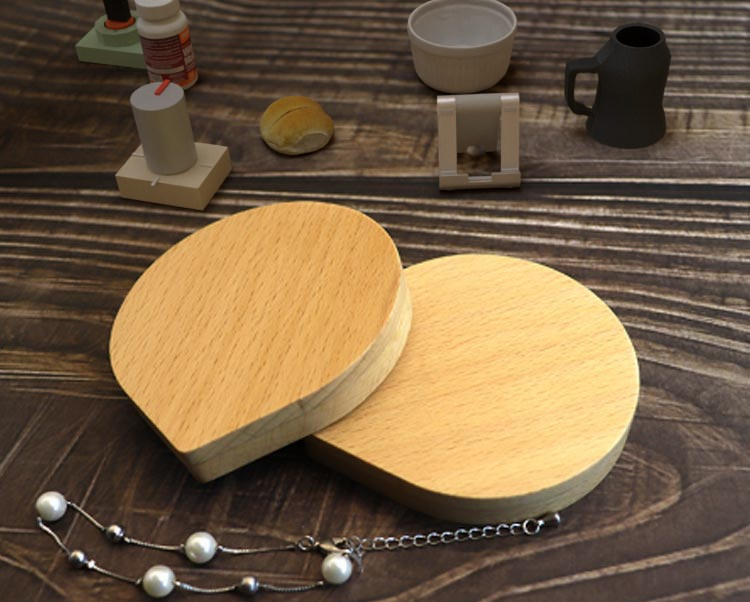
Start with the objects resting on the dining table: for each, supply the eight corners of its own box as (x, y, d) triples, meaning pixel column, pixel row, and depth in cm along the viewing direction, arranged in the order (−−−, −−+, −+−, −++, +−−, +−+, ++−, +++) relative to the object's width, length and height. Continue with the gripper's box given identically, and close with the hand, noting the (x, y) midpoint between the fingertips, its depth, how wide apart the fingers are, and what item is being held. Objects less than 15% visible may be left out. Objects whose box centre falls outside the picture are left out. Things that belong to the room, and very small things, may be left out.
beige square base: (117, 202, 112) (110, 178, 110) (157, 153, 118) (151, 129, 116) (199, 215, 109) (194, 191, 107) (235, 164, 116) (231, 140, 113)
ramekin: (536, 67, 127) (540, 15, 122) (468, 113, 120) (469, 59, 115) (455, 35, 133) (455, -16, 128) (386, 77, 127) (384, 25, 122)
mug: (654, 101, 120) (668, 11, 112) (675, 144, 114) (693, 52, 105) (553, 110, 120) (560, 20, 112) (569, 154, 113) (578, 62, 105)
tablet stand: (439, 194, 110) (439, 127, 104) (437, 152, 115) (436, 86, 109) (519, 190, 109) (524, 123, 103) (513, 149, 115) (517, 82, 109)
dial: (184, 178, 109) (169, 110, 103) (137, 171, 110) (119, 104, 104) (205, 149, 113) (191, 82, 107) (160, 143, 114) (144, 76, 108)
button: (103, 37, 133) (100, 25, 132) (116, 24, 135) (113, 12, 134) (128, 40, 132) (125, 28, 131) (140, 27, 134) (137, 14, 133)
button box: (79, 61, 134) (70, 32, 131) (108, 32, 139) (100, 4, 136) (146, 69, 132) (139, 40, 129) (173, 39, 137) (167, 11, 134)
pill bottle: (201, 89, 127) (184, 3, 119) (152, 98, 127) (132, 11, 118) (196, 65, 132) (179, -19, 123) (148, 73, 131) (128, -11, 123)
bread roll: (314, 108, 123) (311, 78, 120) (343, 145, 117) (340, 114, 114) (250, 126, 121) (245, 96, 118) (276, 164, 115) (271, 134, 112)
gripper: (69, -199, 120) (117, -8, 137) (10, -159, 112) (69, 39, 129) (126, -196, 119) (167, -3, 136) (70, -156, 110) (121, 45, 127)
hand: (119, 18), depth 132 cm, fingers closed
